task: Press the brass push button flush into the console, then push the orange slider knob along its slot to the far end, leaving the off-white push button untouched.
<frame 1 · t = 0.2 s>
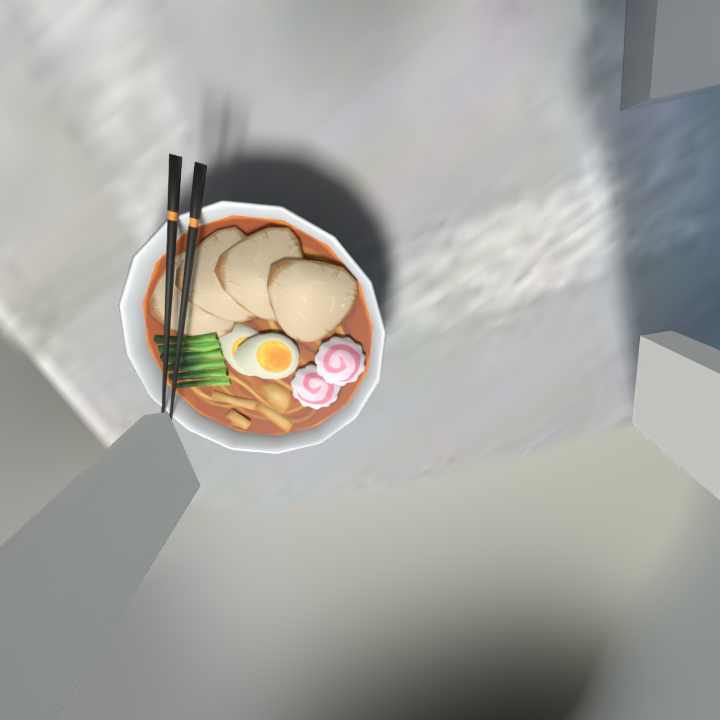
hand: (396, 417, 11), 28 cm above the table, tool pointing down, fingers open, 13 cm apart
ramen bowl: (274, 319, 39), on the table
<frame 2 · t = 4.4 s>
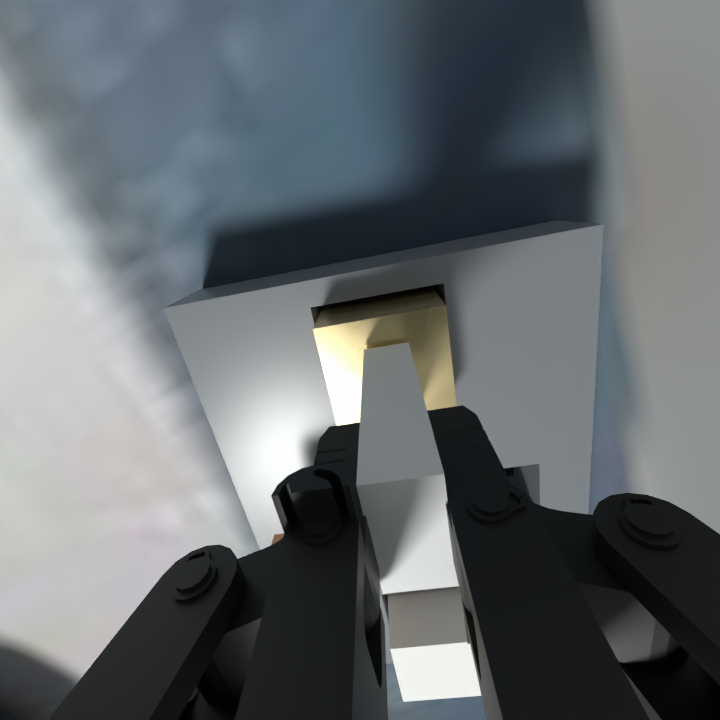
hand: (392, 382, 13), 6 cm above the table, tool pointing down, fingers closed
orange slider knob: (330, 534, 17), point 4 cm above the table, slide at 0.0 cm
console: (407, 463, 21), on the table
white button: (434, 630, 20), point 4 cm above the table, slide at 0.0 cm
brass button: (386, 356, 15), point 3 cm above the table, slide at 0.6 cm, touching gripper
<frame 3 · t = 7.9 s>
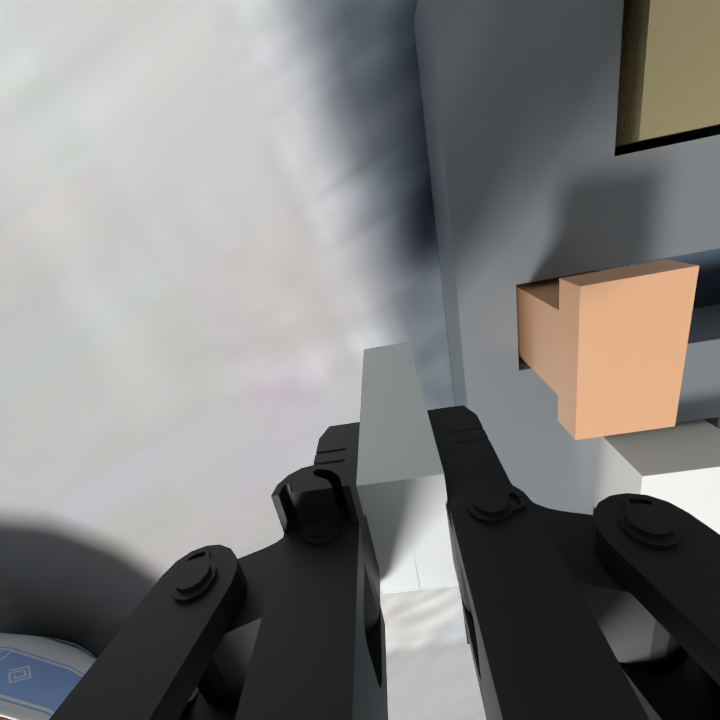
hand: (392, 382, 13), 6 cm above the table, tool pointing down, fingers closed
orange slider knob: (574, 327, 14), point 4 cm above the table, slide at 0.0 cm
console: (617, 285, 17), on the table
ramen bowl: (62, 661, 30), on the table
white button: (659, 478, 17), point 4 cm above the table, slide at 0.0 cm
brass button: (674, 60, 12), point 2 cm above the table, slide at 1.8 cm
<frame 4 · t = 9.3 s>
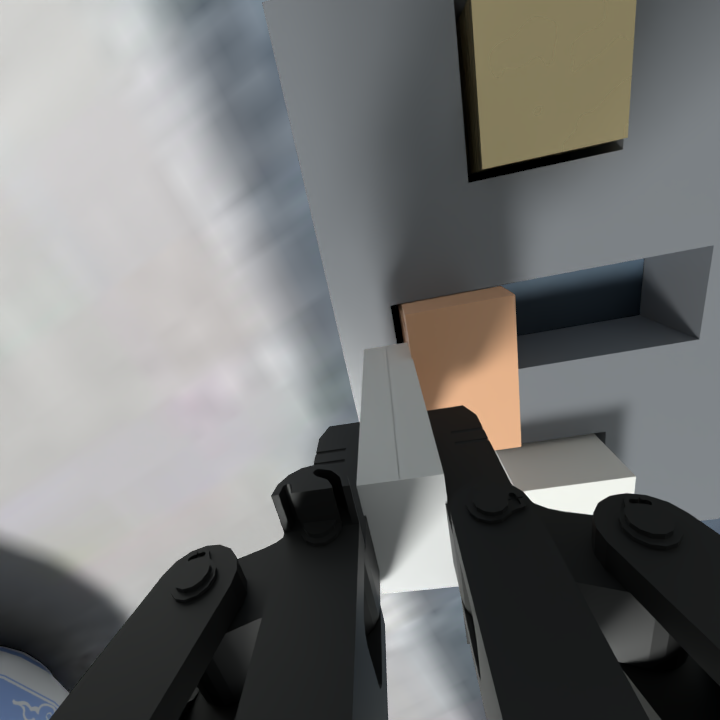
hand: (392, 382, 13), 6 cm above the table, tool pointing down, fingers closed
orange slider knob: (446, 347, 14), point 4 cm above the table, slide at 0.0 cm, touching gripper
console: (513, 301, 18), on the table
ramen bowl: (11, 668, 31), on the table
white button: (552, 491, 17), point 4 cm above the table, slide at 0.0 cm
brass button: (526, 89, 13), point 2 cm above the table, slide at 1.8 cm
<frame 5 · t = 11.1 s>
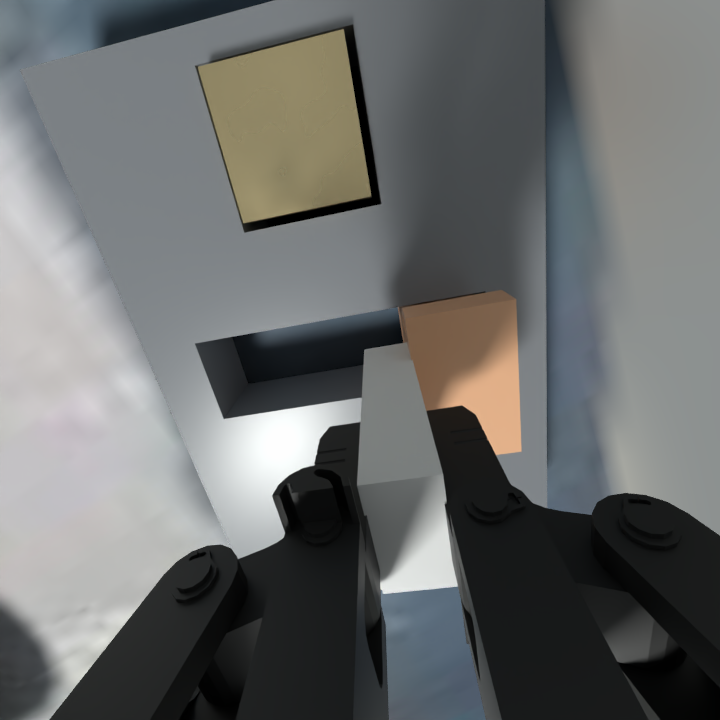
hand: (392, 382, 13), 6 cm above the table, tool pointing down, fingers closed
orange slider knob: (447, 350, 14), point 4 cm above the table, slide at 8.1 cm, touching gripper
console: (348, 333, 18), on the table
white button: (377, 517, 18), point 4 cm above the table, slide at 0.0 cm
brass button: (300, 144, 13), point 2 cm above the table, slide at 1.8 cm
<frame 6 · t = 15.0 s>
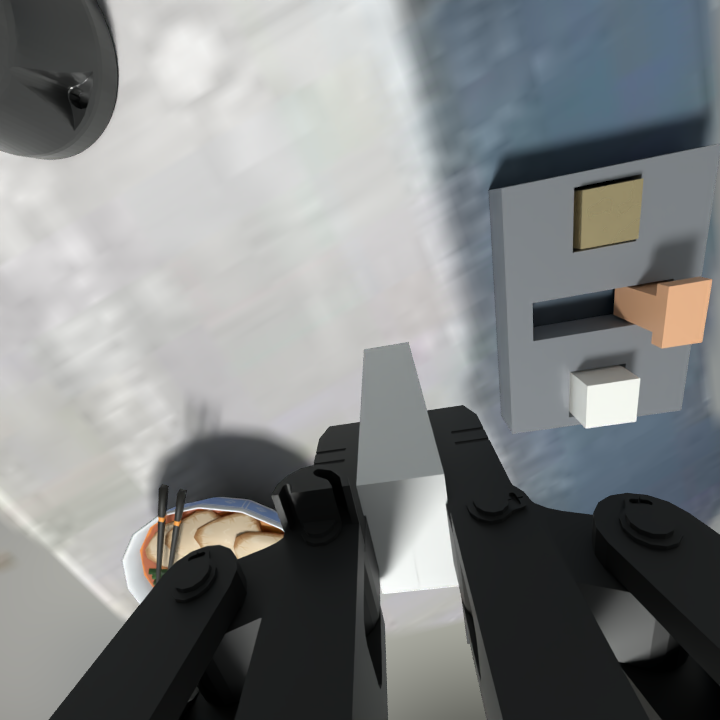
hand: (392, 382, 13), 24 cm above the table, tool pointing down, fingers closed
orange slider knob: (656, 304, 32), point 4 cm above the table, slide at 8.1 cm
console: (580, 301, 36), on the table
ramen bowl: (245, 530, 49), on the table
white button: (599, 393, 35), point 4 cm above the table, slide at 0.0 cm
brass button: (596, 214, 31), point 2 cm above the table, slide at 1.8 cm
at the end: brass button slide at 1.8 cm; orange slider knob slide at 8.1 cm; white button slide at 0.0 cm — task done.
